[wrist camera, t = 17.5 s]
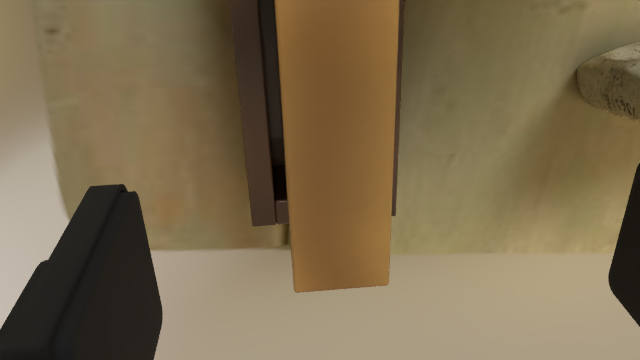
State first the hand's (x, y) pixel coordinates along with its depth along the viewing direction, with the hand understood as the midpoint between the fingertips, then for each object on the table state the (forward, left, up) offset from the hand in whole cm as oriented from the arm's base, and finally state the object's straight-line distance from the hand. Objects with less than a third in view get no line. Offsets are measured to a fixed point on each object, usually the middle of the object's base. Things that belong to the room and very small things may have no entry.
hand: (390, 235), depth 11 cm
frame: (0, 0, -14) cm, 14 cm away
